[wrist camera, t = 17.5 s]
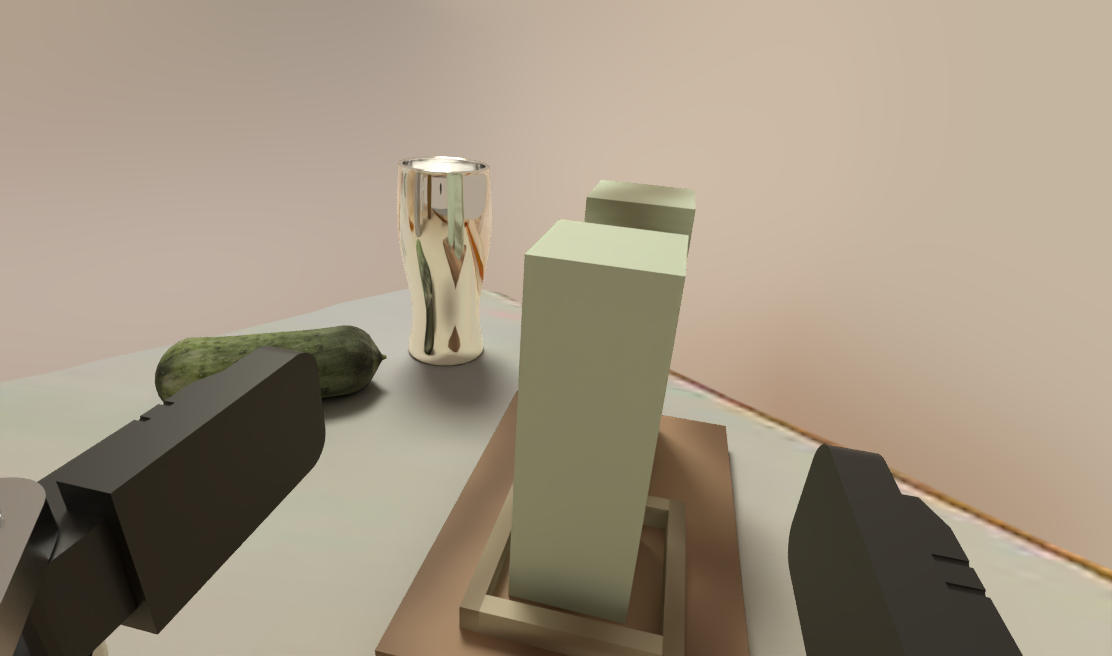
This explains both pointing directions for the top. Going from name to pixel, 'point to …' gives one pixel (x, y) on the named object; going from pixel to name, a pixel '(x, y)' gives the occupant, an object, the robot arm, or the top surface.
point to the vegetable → (337, 350)
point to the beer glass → (444, 253)
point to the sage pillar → (590, 409)
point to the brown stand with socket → (664, 550)
